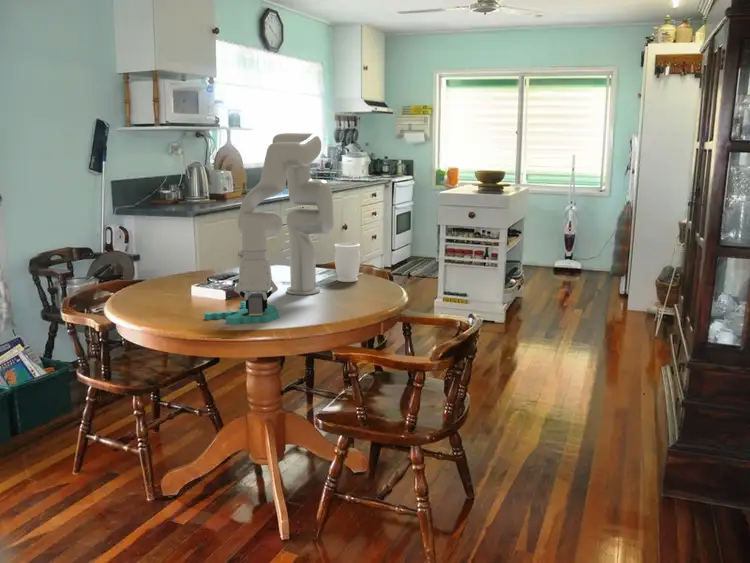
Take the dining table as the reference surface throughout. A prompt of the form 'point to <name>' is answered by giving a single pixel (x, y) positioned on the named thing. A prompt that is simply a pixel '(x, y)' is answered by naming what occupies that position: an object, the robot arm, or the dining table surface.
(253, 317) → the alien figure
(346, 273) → the jar
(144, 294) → the dining table surface
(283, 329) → the dining table surface
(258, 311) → the block
